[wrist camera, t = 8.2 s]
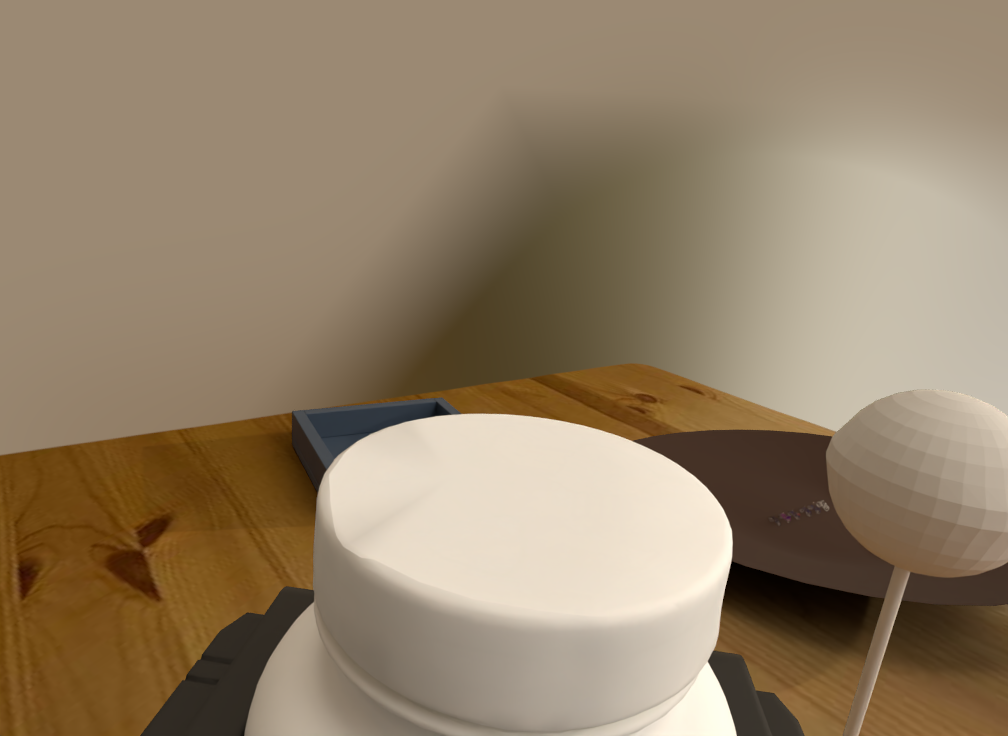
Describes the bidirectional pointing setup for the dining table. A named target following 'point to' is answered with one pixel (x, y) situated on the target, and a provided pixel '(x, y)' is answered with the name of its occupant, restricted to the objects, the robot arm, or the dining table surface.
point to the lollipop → (920, 497)
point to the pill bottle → (505, 590)
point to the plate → (802, 516)
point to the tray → (351, 428)
